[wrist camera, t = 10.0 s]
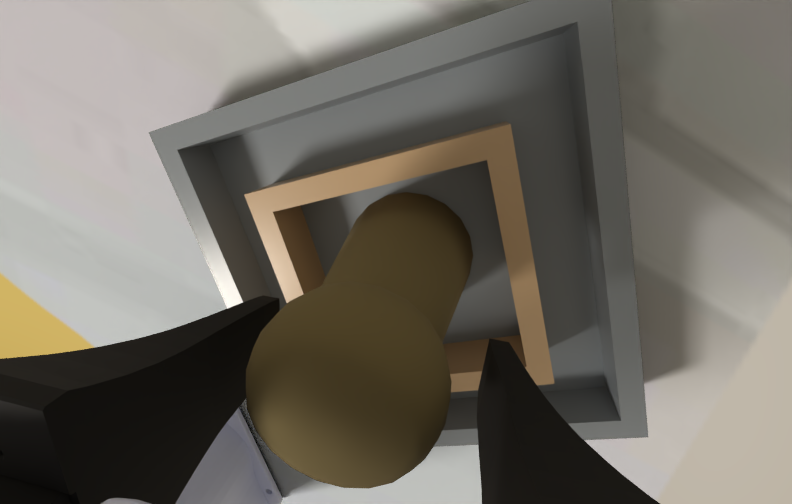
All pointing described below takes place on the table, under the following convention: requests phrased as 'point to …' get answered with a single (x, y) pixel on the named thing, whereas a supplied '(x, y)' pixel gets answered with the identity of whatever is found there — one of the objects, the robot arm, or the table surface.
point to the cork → (365, 349)
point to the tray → (449, 195)
